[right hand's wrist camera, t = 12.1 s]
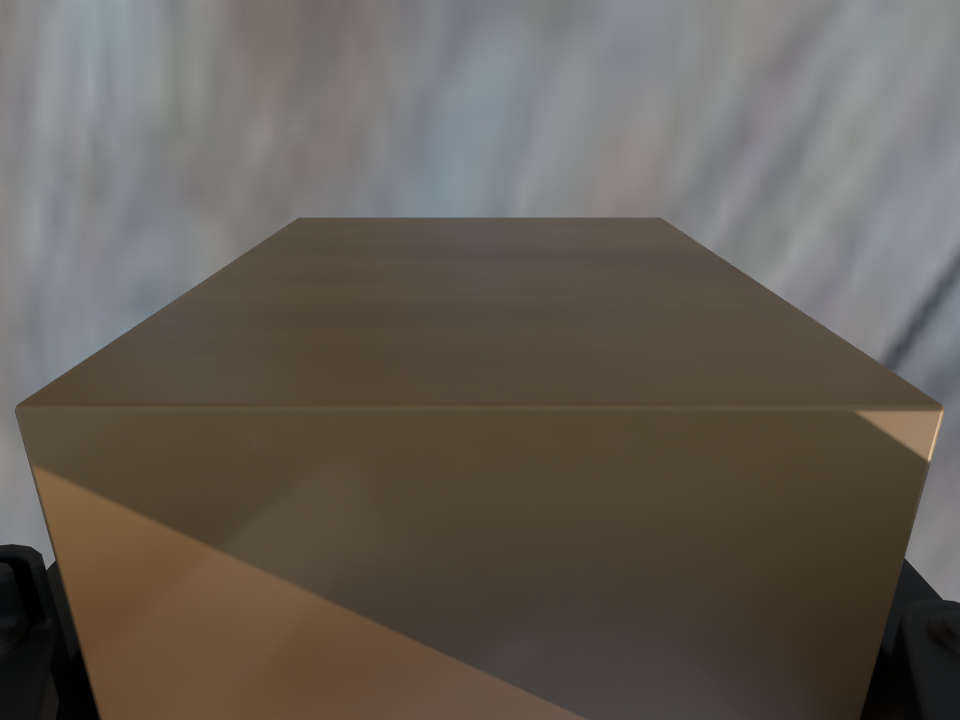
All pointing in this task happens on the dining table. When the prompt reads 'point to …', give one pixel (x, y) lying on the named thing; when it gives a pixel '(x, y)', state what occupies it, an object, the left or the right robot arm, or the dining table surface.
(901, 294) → the dining table surface
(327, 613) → the brown block
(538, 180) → the dining table surface
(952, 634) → the right robot arm
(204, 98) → the dining table surface
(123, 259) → the dining table surface
